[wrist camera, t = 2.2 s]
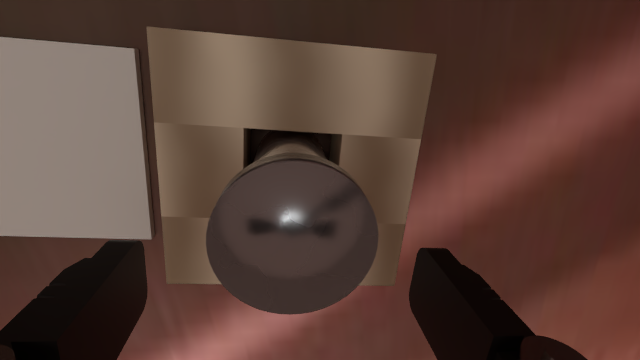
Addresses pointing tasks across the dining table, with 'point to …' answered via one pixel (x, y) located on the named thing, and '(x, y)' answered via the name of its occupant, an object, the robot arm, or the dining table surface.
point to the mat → (72, 142)
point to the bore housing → (280, 127)
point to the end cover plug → (291, 229)
